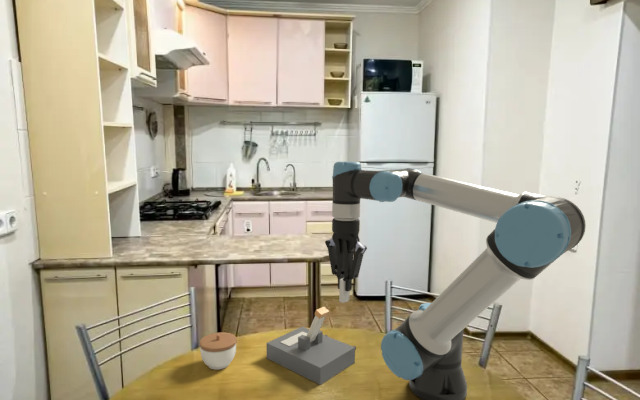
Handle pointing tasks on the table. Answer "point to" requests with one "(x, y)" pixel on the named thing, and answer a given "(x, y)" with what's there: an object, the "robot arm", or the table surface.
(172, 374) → the table surface
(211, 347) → the lidded jar
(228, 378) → the table surface
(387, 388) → the table surface
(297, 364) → the breaker box
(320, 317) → the breaker lever
